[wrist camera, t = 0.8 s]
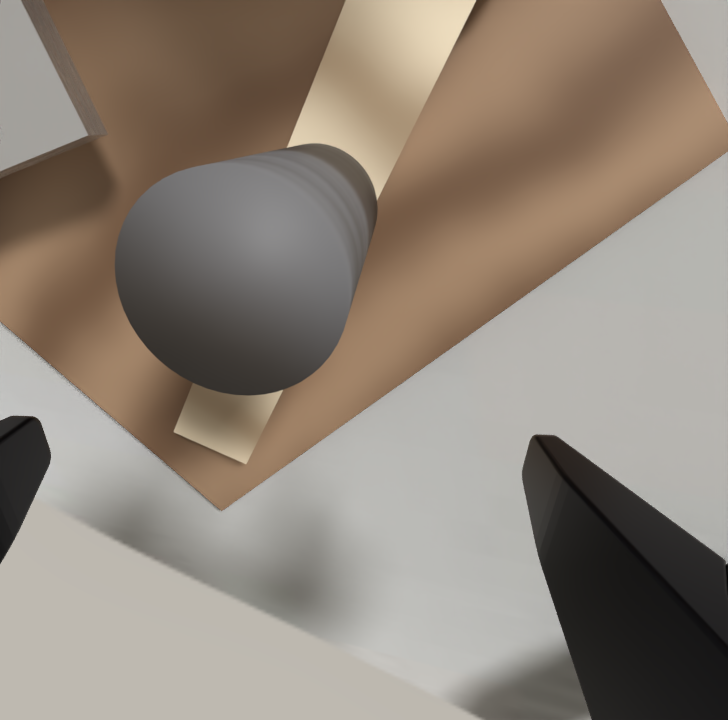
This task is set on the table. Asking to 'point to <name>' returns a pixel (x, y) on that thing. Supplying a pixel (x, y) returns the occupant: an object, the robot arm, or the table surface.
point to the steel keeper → (39, 90)
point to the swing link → (280, 227)
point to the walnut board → (395, 204)
